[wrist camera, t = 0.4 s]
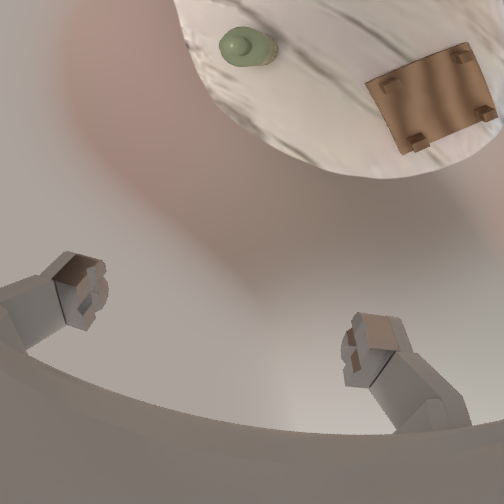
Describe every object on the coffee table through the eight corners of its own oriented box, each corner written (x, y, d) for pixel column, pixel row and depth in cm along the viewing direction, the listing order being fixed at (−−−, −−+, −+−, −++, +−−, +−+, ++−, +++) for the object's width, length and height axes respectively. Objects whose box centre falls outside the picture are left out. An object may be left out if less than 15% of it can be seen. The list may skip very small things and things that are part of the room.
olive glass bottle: (264, 27, 40) (236, 13, 27) (284, 54, 42) (265, 50, 29) (236, 45, 43) (197, 42, 30) (256, 71, 45) (224, 77, 32)
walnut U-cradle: (465, 42, 31) (477, 42, 27) (494, 113, 37) (507, 119, 33) (365, 83, 42) (368, 85, 38) (400, 153, 47) (407, 162, 43)
